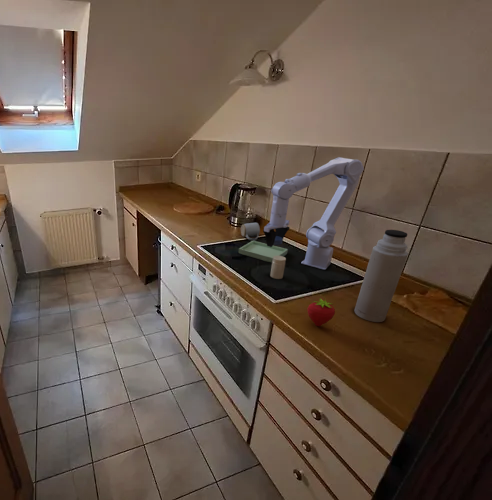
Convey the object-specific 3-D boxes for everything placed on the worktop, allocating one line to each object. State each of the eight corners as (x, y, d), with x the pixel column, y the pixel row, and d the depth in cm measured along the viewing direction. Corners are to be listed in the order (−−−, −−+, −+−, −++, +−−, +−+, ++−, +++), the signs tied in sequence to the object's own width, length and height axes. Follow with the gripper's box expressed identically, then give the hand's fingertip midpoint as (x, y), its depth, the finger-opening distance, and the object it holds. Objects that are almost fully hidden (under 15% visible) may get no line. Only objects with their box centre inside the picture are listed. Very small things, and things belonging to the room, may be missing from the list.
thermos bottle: (348, 307, 98) (371, 227, 87) (372, 306, 98) (398, 226, 87) (366, 322, 91) (393, 237, 80) (391, 321, 91) (422, 236, 80)
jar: (284, 275, 120) (287, 257, 117) (280, 280, 117) (284, 261, 113) (272, 272, 123) (275, 254, 120) (268, 276, 119) (271, 258, 116)
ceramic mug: (239, 234, 164) (240, 221, 161) (253, 233, 165) (255, 220, 162) (246, 241, 155) (248, 227, 152) (261, 241, 155) (263, 227, 152)
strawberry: (300, 320, 93) (305, 292, 89) (323, 319, 93) (330, 291, 89) (310, 332, 88) (317, 303, 84) (335, 331, 88) (343, 302, 84)
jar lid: (272, 238, 127) (272, 234, 126) (285, 242, 123) (285, 238, 122) (263, 241, 124) (264, 237, 123) (276, 246, 120) (277, 241, 119)
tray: (287, 253, 139) (288, 249, 138) (274, 263, 130) (275, 258, 129) (252, 244, 151) (252, 240, 150) (238, 253, 142) (238, 248, 141)
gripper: (277, 218, 112) (272, 251, 117) (298, 211, 119) (292, 243, 125) (261, 214, 117) (256, 246, 122) (282, 208, 125) (277, 238, 130)
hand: (274, 244), depth 124 cm, fingers closed on jar lid, 6 cm apart
